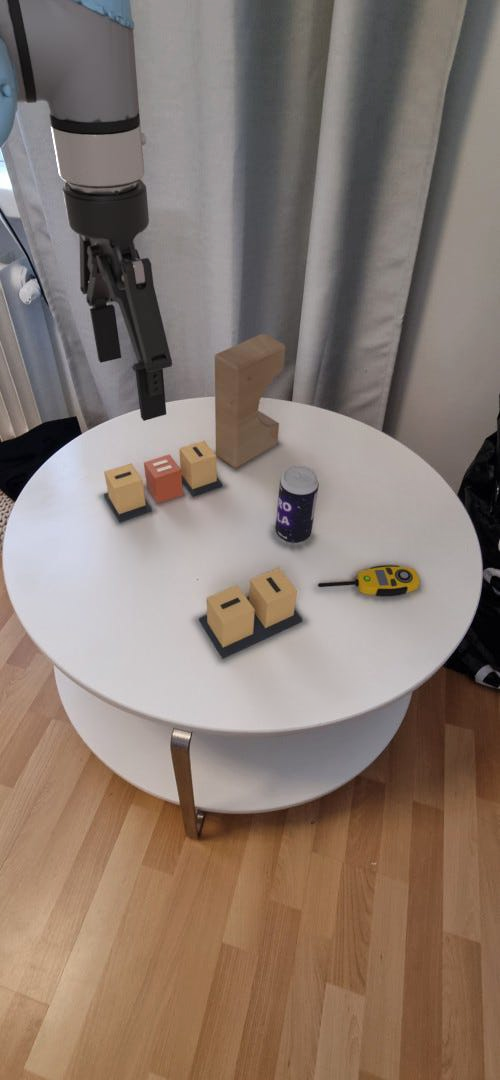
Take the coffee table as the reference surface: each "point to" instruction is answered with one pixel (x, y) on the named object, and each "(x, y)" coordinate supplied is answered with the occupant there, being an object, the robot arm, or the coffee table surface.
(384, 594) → the yellow walkie talkie
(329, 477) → the coffee table surface
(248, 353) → the decorative block
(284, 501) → the beverage can
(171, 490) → the pause symbol cube
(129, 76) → the robot arm
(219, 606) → the tan boxes on tray
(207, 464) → the tan cubes
